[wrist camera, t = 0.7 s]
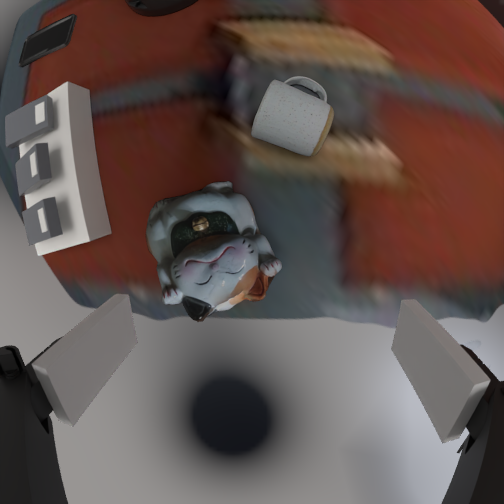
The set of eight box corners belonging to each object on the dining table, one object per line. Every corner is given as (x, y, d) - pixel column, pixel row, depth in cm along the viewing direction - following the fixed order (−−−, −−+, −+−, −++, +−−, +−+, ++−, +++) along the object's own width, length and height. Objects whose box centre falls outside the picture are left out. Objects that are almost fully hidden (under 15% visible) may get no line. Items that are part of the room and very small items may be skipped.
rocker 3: (39, 242, 34) (28, 245, 32) (32, 209, 33) (21, 212, 31) (62, 234, 31) (50, 238, 29) (55, 196, 30) (41, 199, 28)
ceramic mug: (311, 162, 36) (320, 156, 28) (252, 140, 36) (246, 128, 28) (336, 93, 33) (350, 74, 26) (279, 72, 33) (280, 48, 26)
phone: (26, 37, 32) (75, 12, 30) (29, 39, 33) (78, 14, 31) (17, 68, 33) (66, 44, 32) (21, 69, 34) (69, 46, 33)
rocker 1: (12, 148, 29) (5, 146, 27) (11, 119, 28) (4, 116, 26) (53, 128, 30) (47, 125, 28) (52, 98, 29) (46, 94, 27)
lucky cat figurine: (254, 174, 37) (294, 227, 26) (258, 249, 44) (291, 317, 33) (138, 195, 34) (126, 261, 23) (160, 269, 41) (162, 345, 30)
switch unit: (39, 119, 37) (11, 115, 29) (89, 90, 35) (61, 79, 28) (58, 248, 42) (30, 258, 34) (111, 233, 40) (83, 243, 33)
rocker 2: (29, 193, 33) (18, 196, 31) (25, 162, 32) (14, 163, 30) (52, 178, 30) (38, 180, 28) (47, 142, 28) (34, 143, 27)
